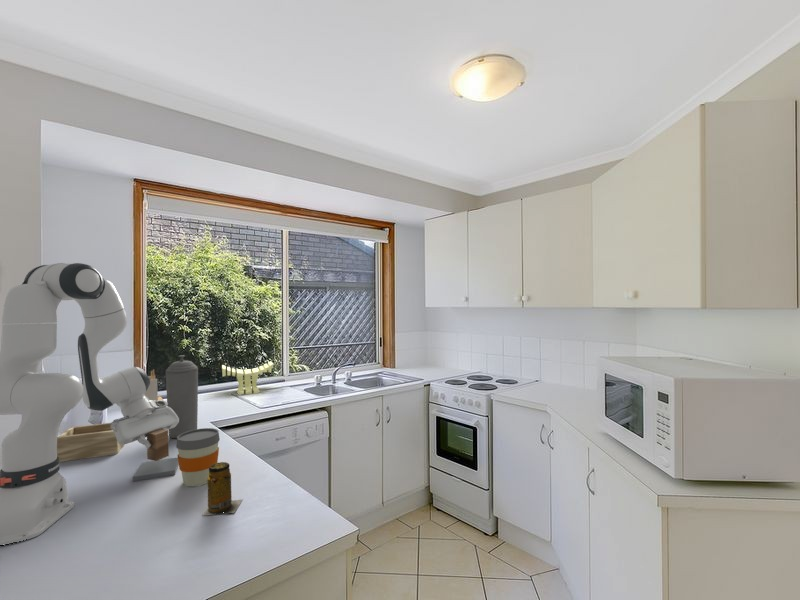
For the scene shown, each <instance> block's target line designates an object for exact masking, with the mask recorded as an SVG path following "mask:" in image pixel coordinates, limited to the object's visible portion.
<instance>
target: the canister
mask: <svg viewBox="0 0 800 600" xmlns="http://www.w3.org/2000/svg"><path fill="white" fill-rule="evenodd" d="M184 357H186V356H185V354H183V355H182V354H181V355H178V358H179V360H177V361H174V362H172V363H171V364H170V365H169V366H168V367H167V369H165V385H166V402H167V403H168V405H167V407H170V408H171V409H173V411H174V412H175V413H176V415H177V416H178V418H179V423H178V424H177V425H176V426H175V427H174V428H171V429H168V436H169V437H170V438H171V439H177V437H178V436H179V435H180V434H182V433H185V432H187V431H191V430H195V429H198V415H199V414H198V409H199V407H198V406H199V404H198V402H199V399H198V398H199V368H198V366H197V365H196V364H195V363H194V362H193V361H191V360H185V359H184Z"/></svg>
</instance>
